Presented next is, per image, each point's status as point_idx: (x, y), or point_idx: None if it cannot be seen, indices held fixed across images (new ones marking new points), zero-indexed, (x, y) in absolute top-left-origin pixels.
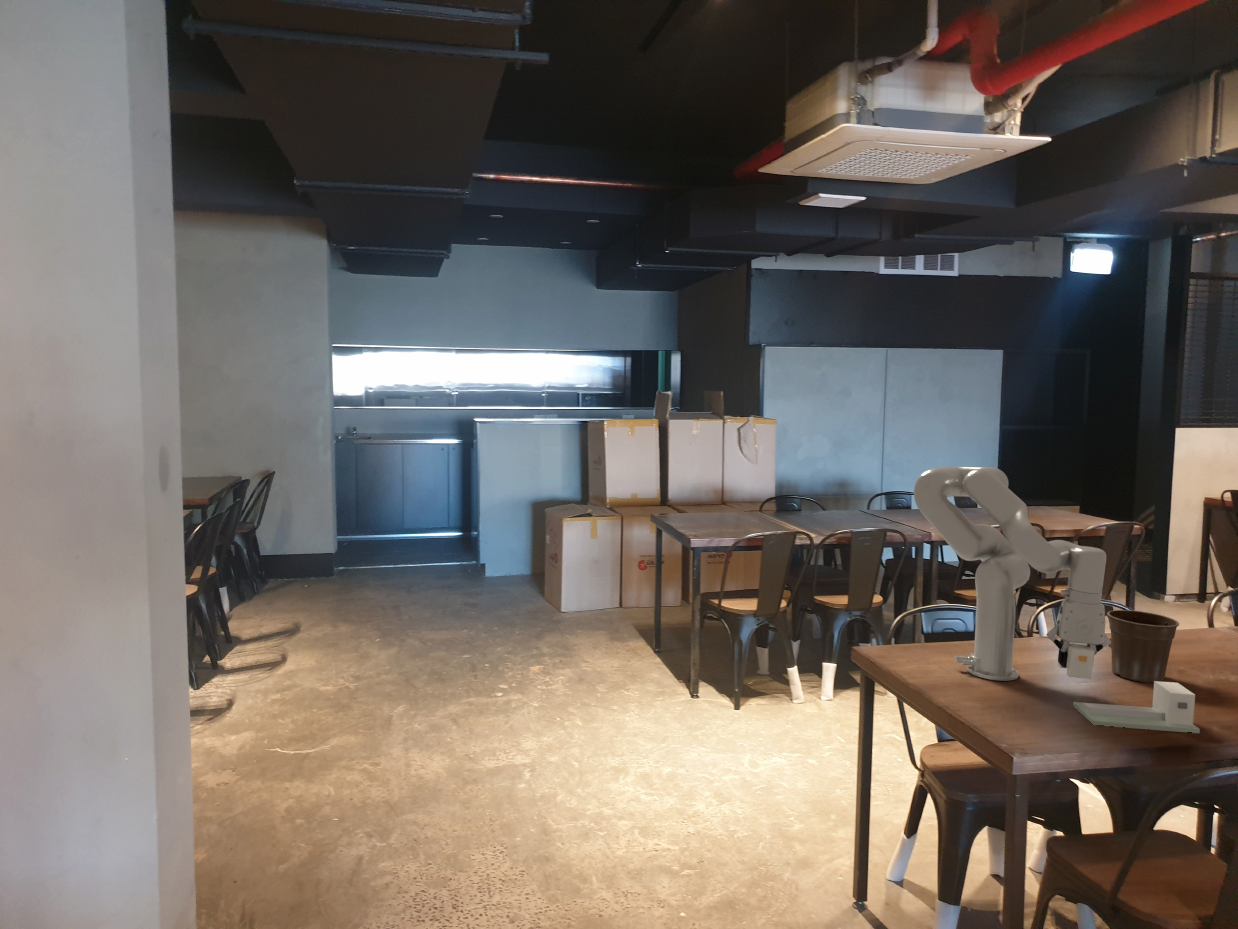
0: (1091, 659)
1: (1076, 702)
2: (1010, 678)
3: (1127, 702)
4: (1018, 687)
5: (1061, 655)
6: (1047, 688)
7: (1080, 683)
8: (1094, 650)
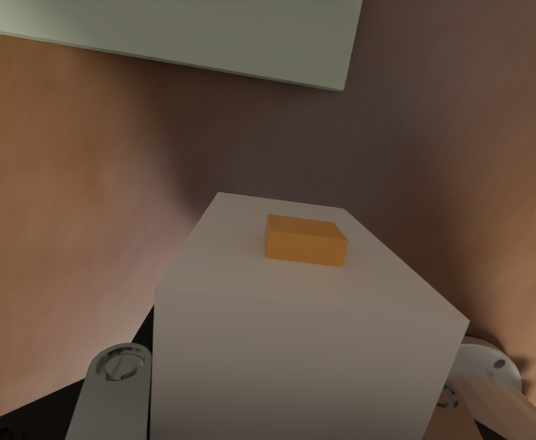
0: (209, 238)
1: (334, 82)
2: None
3: (59, 161)
4: None
5: None
6: None
7: None
8: (107, 387)
